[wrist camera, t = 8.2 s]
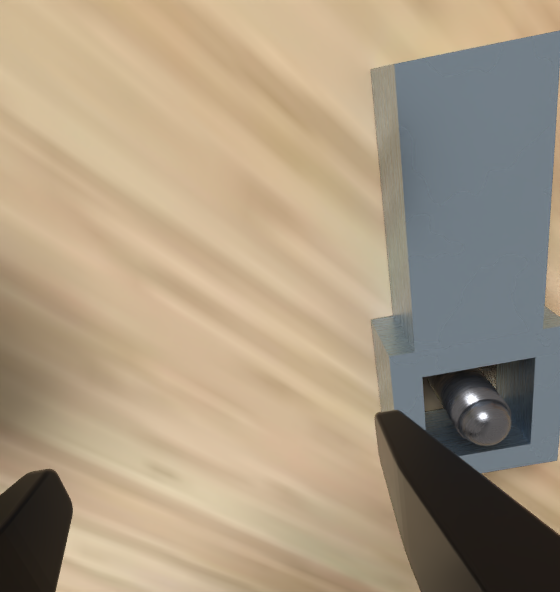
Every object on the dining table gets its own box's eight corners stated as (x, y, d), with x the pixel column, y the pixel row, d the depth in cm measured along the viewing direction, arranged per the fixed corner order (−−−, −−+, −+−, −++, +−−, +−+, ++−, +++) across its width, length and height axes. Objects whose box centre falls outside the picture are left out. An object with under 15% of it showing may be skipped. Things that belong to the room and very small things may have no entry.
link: (520, 414, 21) (557, 460, 18) (384, 438, 21) (402, 486, 18) (536, 35, 14) (596, 23, 12) (342, 74, 15) (360, 71, 12)
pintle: (473, 386, 20) (522, 453, 16) (427, 393, 20) (466, 462, 16) (473, 346, 19) (524, 408, 15) (425, 355, 19) (465, 418, 15)
